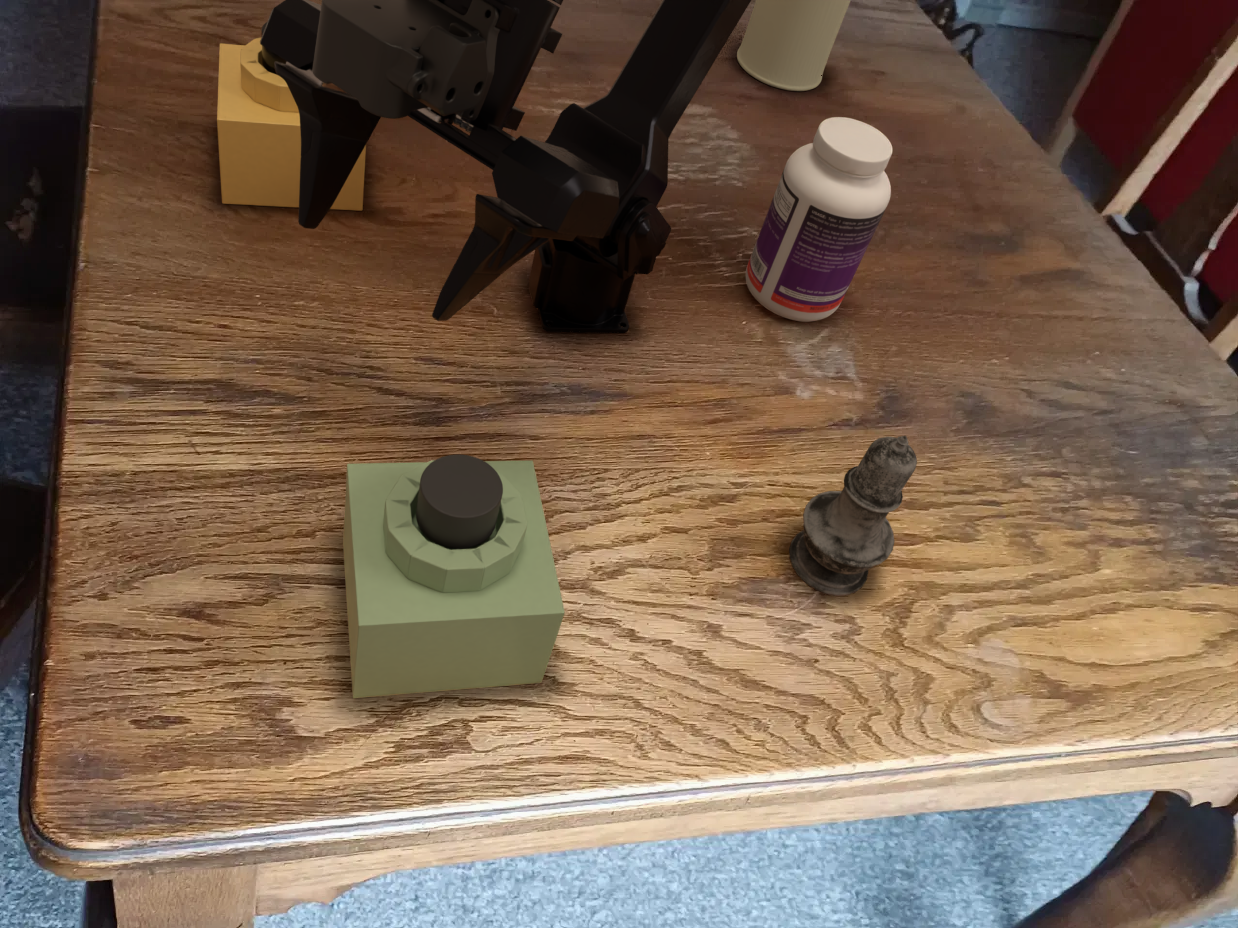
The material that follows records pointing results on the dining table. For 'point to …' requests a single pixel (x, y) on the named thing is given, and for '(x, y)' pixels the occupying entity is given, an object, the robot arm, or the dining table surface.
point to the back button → (270, 57)
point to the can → (791, 41)
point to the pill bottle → (821, 220)
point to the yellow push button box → (264, 136)
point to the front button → (458, 501)
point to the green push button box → (445, 588)
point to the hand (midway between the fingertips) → (371, 272)
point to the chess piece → (853, 520)
